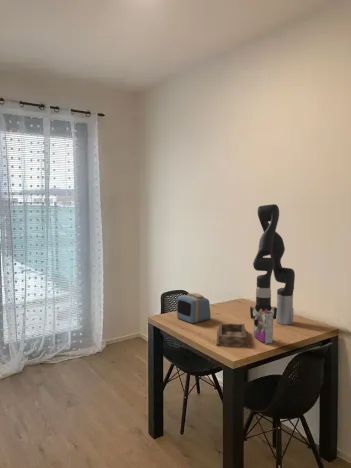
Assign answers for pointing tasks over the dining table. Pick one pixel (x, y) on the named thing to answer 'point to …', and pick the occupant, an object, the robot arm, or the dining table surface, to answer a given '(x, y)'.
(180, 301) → the alarm clock
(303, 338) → the dining table surface
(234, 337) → the walnut slot stand
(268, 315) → the candy bar box
